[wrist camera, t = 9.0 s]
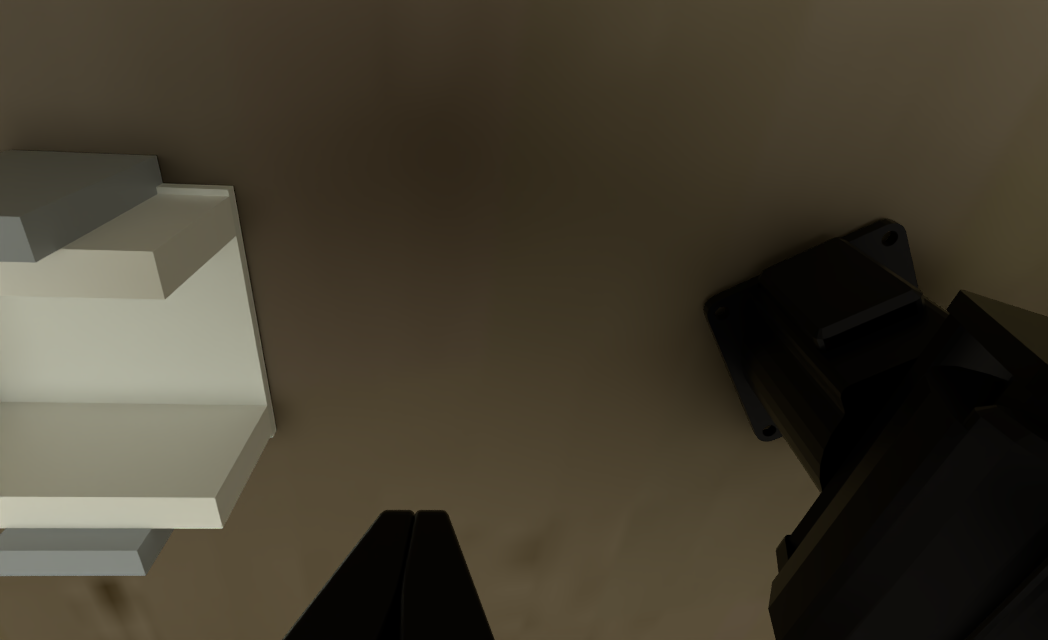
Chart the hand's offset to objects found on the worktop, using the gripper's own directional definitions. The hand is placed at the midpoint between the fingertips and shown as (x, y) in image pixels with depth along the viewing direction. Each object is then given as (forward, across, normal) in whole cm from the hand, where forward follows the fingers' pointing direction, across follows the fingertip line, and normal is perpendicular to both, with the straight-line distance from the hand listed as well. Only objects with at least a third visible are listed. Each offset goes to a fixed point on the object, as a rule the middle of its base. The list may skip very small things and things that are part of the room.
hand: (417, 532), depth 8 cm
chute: (+12, +14, +3) cm, 19 cm away
